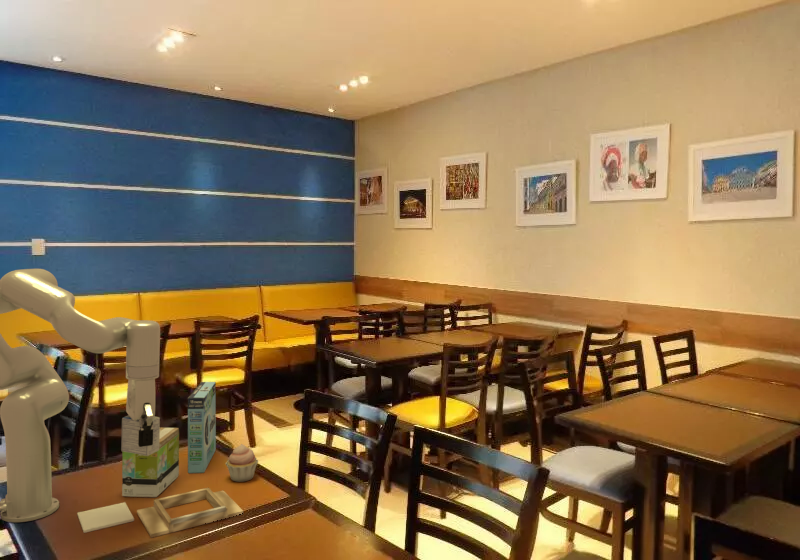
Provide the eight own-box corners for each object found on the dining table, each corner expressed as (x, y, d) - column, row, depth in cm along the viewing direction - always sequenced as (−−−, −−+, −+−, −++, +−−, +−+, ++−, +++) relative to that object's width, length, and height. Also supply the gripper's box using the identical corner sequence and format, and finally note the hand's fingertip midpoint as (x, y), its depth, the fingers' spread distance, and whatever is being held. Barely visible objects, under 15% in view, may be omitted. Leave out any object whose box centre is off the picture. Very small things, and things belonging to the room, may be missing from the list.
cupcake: (257, 470, 181) (257, 437, 180) (259, 482, 172) (259, 448, 171) (225, 473, 178) (225, 440, 178) (225, 485, 169) (224, 450, 169)
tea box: (158, 498, 161) (157, 443, 160) (121, 497, 161) (120, 443, 160) (180, 476, 176) (179, 426, 175) (146, 475, 176) (145, 425, 175)
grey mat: (83, 532, 142) (83, 530, 141) (77, 515, 151) (77, 512, 150) (134, 520, 148) (134, 518, 148) (125, 504, 157) (125, 502, 157)
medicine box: (159, 451, 150) (160, 416, 150) (147, 456, 146) (148, 421, 146) (133, 446, 153) (134, 412, 152) (120, 451, 148) (121, 417, 148)
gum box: (201, 450, 197) (200, 381, 195) (217, 450, 198) (216, 381, 196) (187, 473, 178) (186, 397, 176) (205, 473, 178) (204, 397, 177)
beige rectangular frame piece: (151, 538, 139) (151, 525, 139) (137, 513, 152) (136, 501, 152) (243, 514, 152) (243, 502, 152) (223, 493, 164) (223, 482, 164)
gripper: (119, 365, 153) (117, 431, 154) (134, 380, 139) (132, 453, 140) (150, 363, 157) (148, 427, 158) (167, 377, 143) (166, 448, 144)
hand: (141, 439), depth 149 cm, fingers closed on medicine box, 9 cm apart
